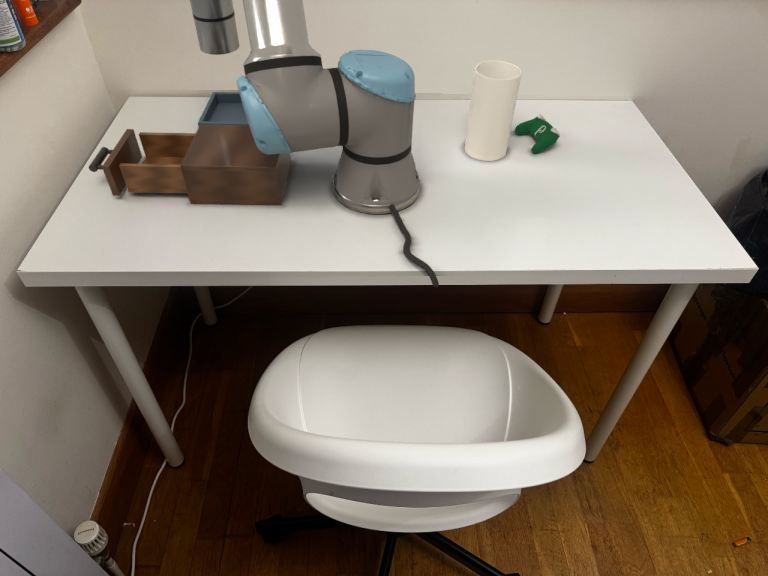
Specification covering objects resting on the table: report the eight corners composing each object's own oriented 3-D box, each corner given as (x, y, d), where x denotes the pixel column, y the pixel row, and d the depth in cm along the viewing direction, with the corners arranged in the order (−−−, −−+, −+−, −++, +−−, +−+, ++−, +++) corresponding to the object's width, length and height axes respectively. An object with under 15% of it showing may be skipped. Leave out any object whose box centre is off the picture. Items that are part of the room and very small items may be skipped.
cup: (514, 156, 109) (530, 76, 98) (476, 164, 107) (489, 83, 96) (493, 136, 115) (506, 57, 104) (457, 143, 113) (466, 64, 101)
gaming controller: (541, 161, 112) (566, 139, 110) (532, 151, 109) (557, 128, 107) (520, 138, 118) (543, 117, 116) (511, 128, 115) (534, 106, 113)
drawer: (88, 195, 96) (75, 166, 92) (113, 156, 105) (103, 128, 101) (197, 197, 97) (190, 168, 92) (213, 158, 105) (207, 130, 101)
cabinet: (190, 203, 97) (180, 165, 91) (208, 160, 106) (200, 124, 101) (281, 205, 97) (276, 167, 92) (291, 162, 107) (287, 125, 101)
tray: (277, 104, 123) (276, 93, 121) (267, 135, 113) (266, 124, 112) (215, 102, 123) (212, 91, 121) (200, 134, 113) (197, 123, 112)
